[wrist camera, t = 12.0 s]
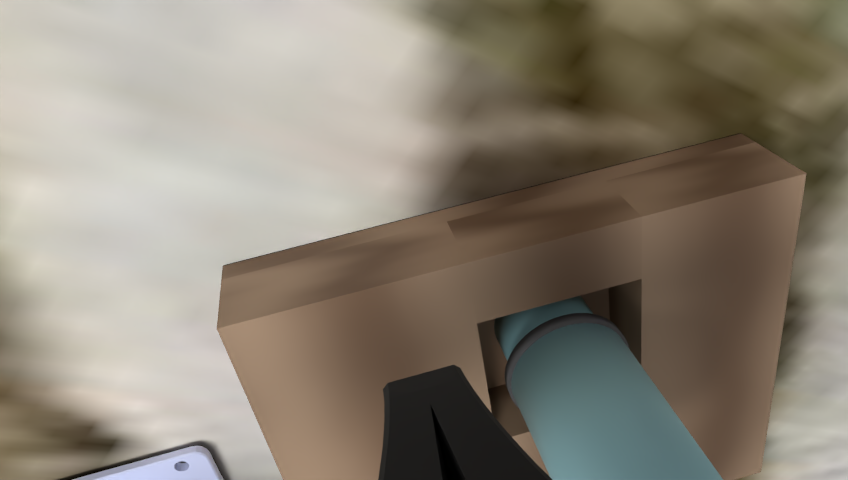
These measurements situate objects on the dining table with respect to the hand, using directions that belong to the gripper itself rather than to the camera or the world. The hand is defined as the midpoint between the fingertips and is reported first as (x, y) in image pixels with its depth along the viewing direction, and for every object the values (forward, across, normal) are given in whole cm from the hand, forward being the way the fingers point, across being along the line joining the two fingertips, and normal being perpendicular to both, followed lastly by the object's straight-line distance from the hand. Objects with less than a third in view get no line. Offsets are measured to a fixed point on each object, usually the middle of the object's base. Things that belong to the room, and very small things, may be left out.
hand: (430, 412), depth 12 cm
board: (+10, -4, +9) cm, 14 cm away
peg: (+10, -5, +7) cm, 13 cm away
